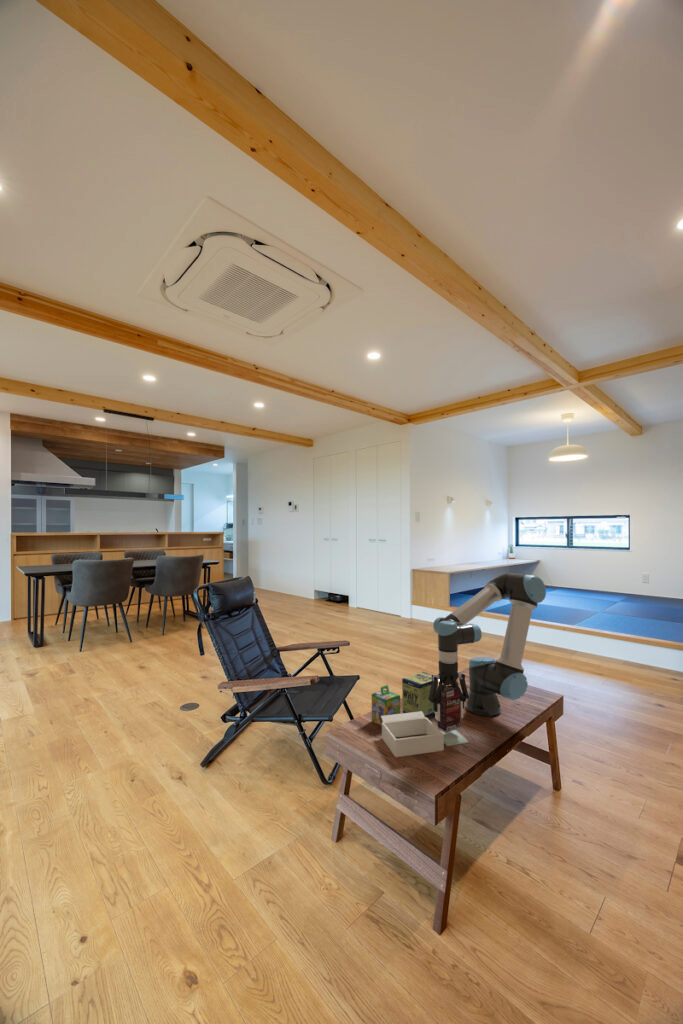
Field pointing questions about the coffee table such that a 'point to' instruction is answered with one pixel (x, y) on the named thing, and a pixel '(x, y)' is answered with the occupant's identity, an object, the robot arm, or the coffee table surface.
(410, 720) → the carton
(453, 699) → the supplement box
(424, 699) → the protein box
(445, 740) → the felt pad
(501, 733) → the coffee table surface
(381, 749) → the coffee table surface
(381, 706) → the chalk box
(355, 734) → the coffee table surface
